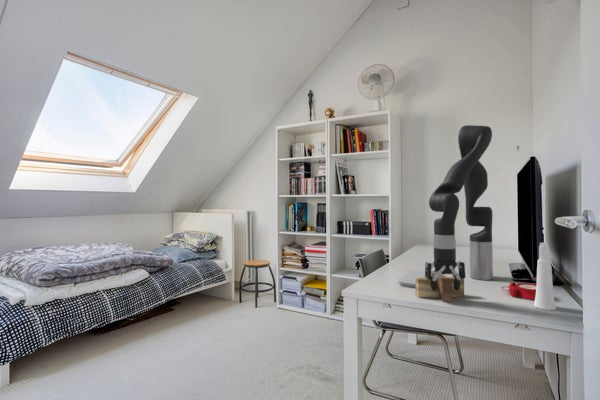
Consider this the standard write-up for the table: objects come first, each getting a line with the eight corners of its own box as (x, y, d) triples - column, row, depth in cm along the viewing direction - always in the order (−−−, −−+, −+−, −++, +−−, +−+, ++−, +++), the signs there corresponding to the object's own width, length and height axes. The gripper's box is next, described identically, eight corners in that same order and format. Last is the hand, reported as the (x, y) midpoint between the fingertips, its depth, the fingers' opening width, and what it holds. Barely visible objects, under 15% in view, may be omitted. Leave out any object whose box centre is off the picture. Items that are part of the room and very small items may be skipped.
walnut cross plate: (428, 290, 131) (428, 271, 131) (434, 290, 132) (434, 271, 132) (445, 301, 117) (445, 280, 117) (452, 301, 118) (451, 279, 118)
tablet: (446, 278, 153) (446, 273, 153) (435, 292, 131) (435, 286, 131) (411, 274, 162) (411, 269, 162) (395, 286, 140) (395, 281, 140)
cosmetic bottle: (540, 309, 108) (539, 244, 107) (530, 304, 113) (529, 241, 113) (560, 310, 107) (559, 244, 106) (549, 304, 113) (548, 241, 112)
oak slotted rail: (415, 295, 126) (415, 277, 126) (460, 294, 126) (460, 276, 126) (418, 297, 123) (417, 279, 123) (464, 296, 124) (464, 278, 124)
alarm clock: (553, 293, 114) (504, 278, 122) (548, 309, 115) (500, 294, 123) (550, 286, 123) (504, 273, 131) (545, 301, 124) (500, 287, 132)
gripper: (430, 248, 116) (430, 293, 116) (468, 247, 117) (469, 292, 117) (421, 245, 124) (422, 287, 124) (457, 244, 124) (458, 286, 124)
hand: (445, 290), depth 120 cm, fingers open, 8 cm apart
